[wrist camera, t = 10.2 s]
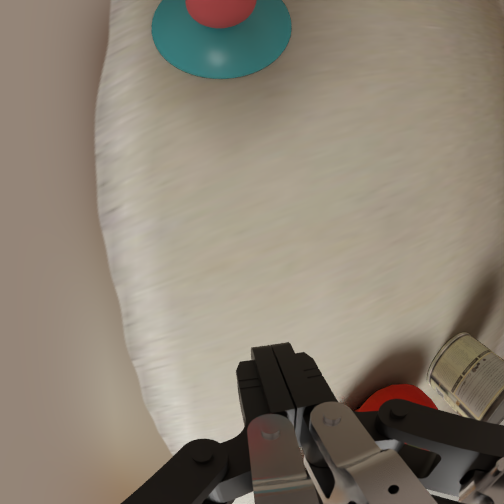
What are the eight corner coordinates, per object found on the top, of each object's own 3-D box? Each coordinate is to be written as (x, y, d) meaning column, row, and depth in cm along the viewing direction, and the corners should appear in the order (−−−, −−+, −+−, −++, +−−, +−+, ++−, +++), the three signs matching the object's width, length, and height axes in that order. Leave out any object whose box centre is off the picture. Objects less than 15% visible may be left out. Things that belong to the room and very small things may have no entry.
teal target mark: (156, -20, 16) (156, -21, 15) (284, -21, 17) (285, -22, 17) (149, 85, 19) (149, 84, 19) (296, 80, 21) (296, 79, 21)
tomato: (424, 361, 33) (468, 404, 23) (396, 423, 37) (426, 465, 27) (342, 382, 31) (382, 444, 21) (322, 444, 34) (346, 497, 24)
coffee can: (478, 334, 35) (533, 376, 21) (447, 385, 37) (493, 432, 23) (451, 327, 32) (517, 378, 19) (415, 385, 34) (467, 445, 21)
